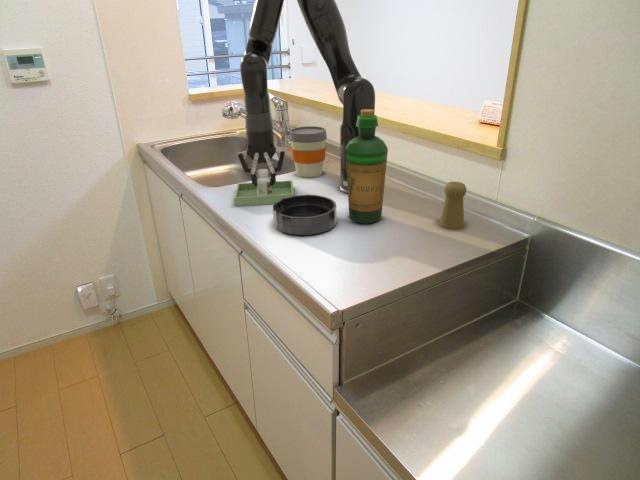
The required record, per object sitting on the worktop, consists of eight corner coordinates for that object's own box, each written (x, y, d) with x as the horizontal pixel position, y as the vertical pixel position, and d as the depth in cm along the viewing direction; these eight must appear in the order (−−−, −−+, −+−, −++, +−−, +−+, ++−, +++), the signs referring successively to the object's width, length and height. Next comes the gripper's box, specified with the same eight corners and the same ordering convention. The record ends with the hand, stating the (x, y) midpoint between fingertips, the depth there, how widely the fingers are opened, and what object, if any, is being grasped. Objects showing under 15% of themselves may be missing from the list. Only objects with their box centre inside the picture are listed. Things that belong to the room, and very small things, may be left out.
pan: (332, 210, 125) (332, 193, 123) (339, 234, 111) (339, 215, 109) (274, 213, 124) (273, 196, 122) (274, 238, 110) (272, 219, 108)
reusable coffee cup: (318, 166, 164) (317, 124, 157) (333, 175, 153) (332, 131, 147) (286, 171, 159) (283, 128, 153) (299, 181, 149) (297, 136, 142)
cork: (464, 220, 116) (469, 180, 111) (463, 230, 111) (468, 188, 106) (440, 218, 118) (444, 178, 113) (438, 227, 113) (442, 186, 108)
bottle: (339, 223, 117) (339, 113, 105) (351, 209, 126) (352, 105, 114) (380, 228, 113) (384, 115, 101) (389, 213, 122) (394, 107, 110)
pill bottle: (272, 197, 135) (270, 172, 131) (257, 198, 134) (255, 173, 131) (272, 192, 139) (270, 167, 135) (258, 193, 138) (255, 168, 135)
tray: (292, 188, 143) (292, 180, 142) (294, 202, 131) (293, 194, 130) (238, 190, 142) (237, 183, 141) (234, 206, 130) (233, 198, 129)
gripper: (284, 123, 131) (287, 179, 139) (235, 126, 130) (241, 182, 138) (284, 129, 125) (288, 187, 132) (232, 131, 124) (239, 190, 131)
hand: (264, 184), depth 135 cm, fingers closed on pill bottle, 4 cm apart
